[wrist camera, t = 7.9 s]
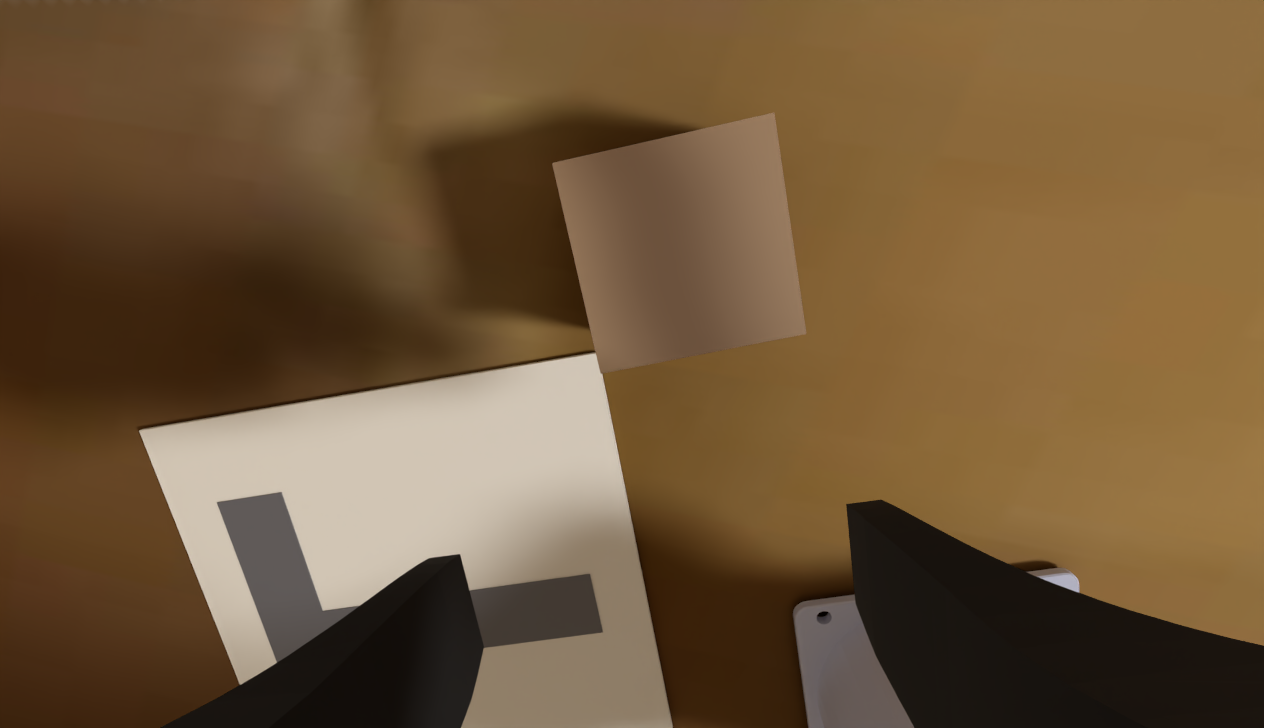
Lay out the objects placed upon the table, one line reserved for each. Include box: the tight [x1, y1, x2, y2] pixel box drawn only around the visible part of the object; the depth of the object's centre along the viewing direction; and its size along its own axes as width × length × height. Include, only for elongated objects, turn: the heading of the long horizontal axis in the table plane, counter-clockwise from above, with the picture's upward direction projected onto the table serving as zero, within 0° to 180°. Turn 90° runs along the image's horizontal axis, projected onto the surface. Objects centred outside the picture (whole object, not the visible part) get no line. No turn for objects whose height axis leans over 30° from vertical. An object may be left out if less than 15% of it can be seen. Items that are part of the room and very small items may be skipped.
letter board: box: [139, 352, 673, 728], centre depth 22 cm, size 16×18×1 cm
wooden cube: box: [552, 113, 806, 374], centre depth 17 cm, size 5×5×5 cm
